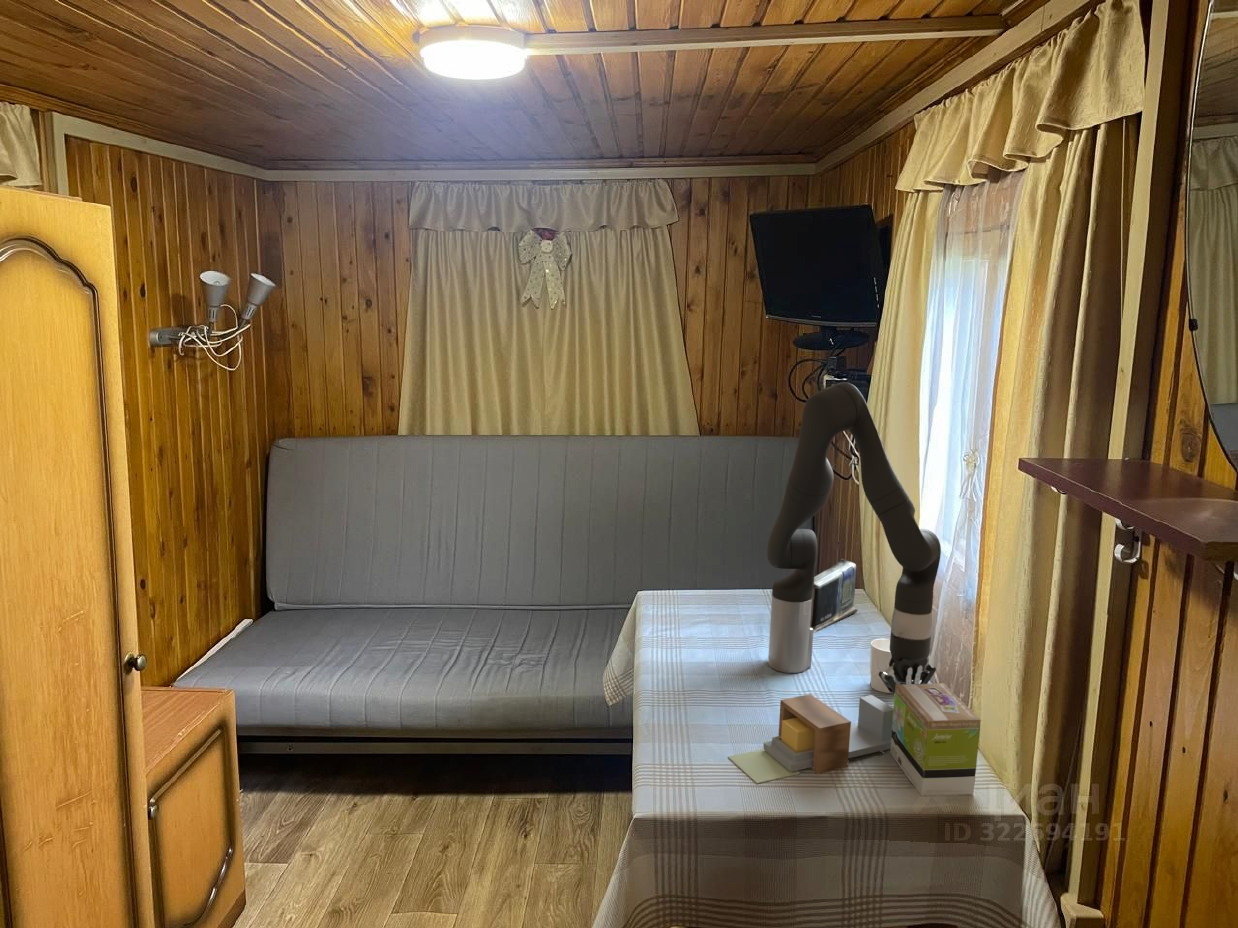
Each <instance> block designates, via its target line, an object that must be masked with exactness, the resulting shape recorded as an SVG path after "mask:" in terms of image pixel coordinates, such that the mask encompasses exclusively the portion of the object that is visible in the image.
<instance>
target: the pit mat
mask: <svg viewBox="0 0 1238 928" xmlns="http://www.w3.org/2000/svg"><path fill="white" fill-rule="evenodd" d="M884 754H885V753H884V752H883V751H878V752H874V753H870V754H865V755H861V756H857V757H852V758H848V763H851V762H856V761H861V760H865V759H870V758H873V757H878V756H883V755H884Z"/></svg>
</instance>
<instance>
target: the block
mask: <svg viewBox="0 0 1238 928" xmlns="http://www.w3.org/2000/svg"><path fill="white" fill-rule="evenodd" d="M781 741H782V742H783V743H784V744H786V745H787V746H788V747H789V748H791V749H792V750H793V751H794V752H796V753H798V752H802V751H807V750H811V749H814V743H815V730H814V729H813V728H811V727H810V726H809V725H807V724H806V723H804V722H803V721H802V720H800V719H799V718H798V717H797V718H793V719H788V720H783V721H782V733H781Z"/></svg>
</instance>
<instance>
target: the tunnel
mask: <svg viewBox="0 0 1238 928" xmlns="http://www.w3.org/2000/svg"><path fill="white" fill-rule="evenodd" d="M779 703H780V706H779V719H778V720H779V722H778V736H781V733H782V721H783V720H788V719H793V718H797V717H798V718H799V719H800V720H802V721H803V722H804V723H806V724H807V725H809V726H810V727H811V728H813V729H814V730H815V743H814V758H813V767H812V772H813V773H814V774H815V775H817V774H818V775H819V774H823V773H827V772H832V771H836V770H840V769H844V768H848V767H849V766H848V765H849V761H848V755H849V742H850V728H851V724H852V721H851V720H849V719H848V718H846V717H845V716H843V715H842V714H841V713H839V712H838V711H836V710H834V709H833V708H832V707H830V706H829V705H827V704H826V703H825V702H823V701H821V700H820V699H818V698H817V697H816V696H814V695H812V694H805V695H799V696H794V697H789V698H784V699H780V702H779Z"/></svg>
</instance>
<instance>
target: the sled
mask: <svg viewBox="0 0 1238 928" xmlns="http://www.w3.org/2000/svg"><path fill="white" fill-rule="evenodd" d="M858 707H859V708H858V717H857V722H854V723H851V728H850V742H849V755H848V758H852V757H857V756H861V755H865V754H870V753H874V752H878V751H881V752H883V751H885V750H891V737H892V722H893V708H894V707H893V706H892V705H891V706H890V705H889V704H887V703H886V702H884V701H882V700H881V699H879V698H878V697H876V696H875V695H873V694H870V695H866V696H860V697H859V706H858ZM762 749H764V750H765V751H767V752H768V753H769V754H770V755H771V756H773V757H774V758H775V759H776V760H777V761H778V762H780V763H781V764H782V765H783V766H784V767H786V768H787V769H788V770H789V771H790V772H792V771H800V770H805V769H809V768H813V758H814V749H811V750H807V751H802V752H798V753H796V752H794V751H793V750H792V749H791V748H789V747H788V746H787V745H786V744H784V743H783V742H782V741H781V736H779V735H778V736H773V737H772V738H771V740H769V741H766V742H763V748H762Z"/></svg>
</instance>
